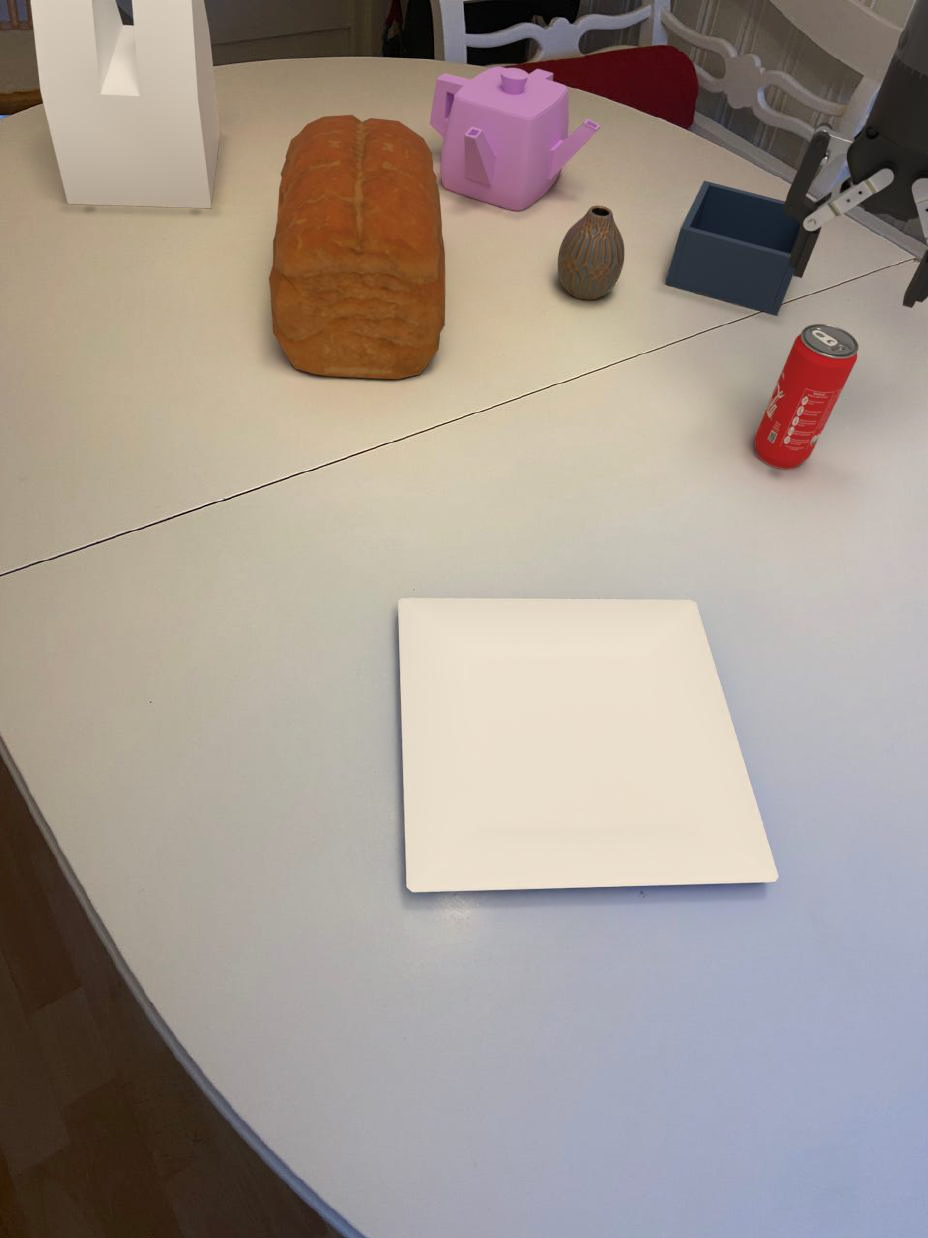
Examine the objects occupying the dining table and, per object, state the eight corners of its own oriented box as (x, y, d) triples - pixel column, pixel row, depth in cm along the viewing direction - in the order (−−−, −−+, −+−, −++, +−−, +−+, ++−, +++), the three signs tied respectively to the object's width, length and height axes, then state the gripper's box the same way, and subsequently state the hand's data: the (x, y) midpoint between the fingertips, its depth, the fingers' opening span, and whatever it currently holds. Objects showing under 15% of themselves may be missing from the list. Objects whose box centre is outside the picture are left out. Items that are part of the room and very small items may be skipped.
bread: (434, 239, 104) (445, 88, 92) (444, 384, 87) (458, 221, 75) (289, 231, 102) (280, 76, 90) (270, 377, 85) (255, 209, 73)
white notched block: (92, 127, 114) (39, -127, 95) (220, 133, 116) (193, -115, 97) (67, 203, 102) (1, -71, 83) (211, 208, 104) (178, -58, 85)
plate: (396, 613, 69) (398, 595, 67) (688, 615, 71) (696, 597, 70) (405, 905, 54) (406, 890, 53) (769, 894, 57) (781, 880, 55)
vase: (546, 298, 98) (559, 217, 92) (560, 267, 103) (575, 188, 96) (609, 313, 98) (627, 234, 91) (621, 281, 102) (640, 203, 95)
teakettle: (537, 145, 122) (552, 40, 113) (591, 207, 113) (613, 98, 103) (415, 153, 118) (420, 45, 108) (460, 219, 108) (470, 106, 98)
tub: (792, 262, 108) (814, 208, 103) (777, 315, 100) (798, 259, 95) (688, 234, 110) (704, 180, 105) (664, 284, 102) (680, 227, 97)
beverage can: (781, 479, 83) (834, 365, 73) (739, 446, 85) (785, 332, 76) (818, 460, 85) (874, 347, 76) (776, 428, 87) (825, 315, 78)
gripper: (1066, 65, 61) (946, 289, 73) (851, 17, 63) (769, 242, 76) (1072, 105, 56) (942, 337, 69) (840, 50, 59) (754, 284, 71)
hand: (852, 287), depth 72 cm, fingers open, 8 cm apart
